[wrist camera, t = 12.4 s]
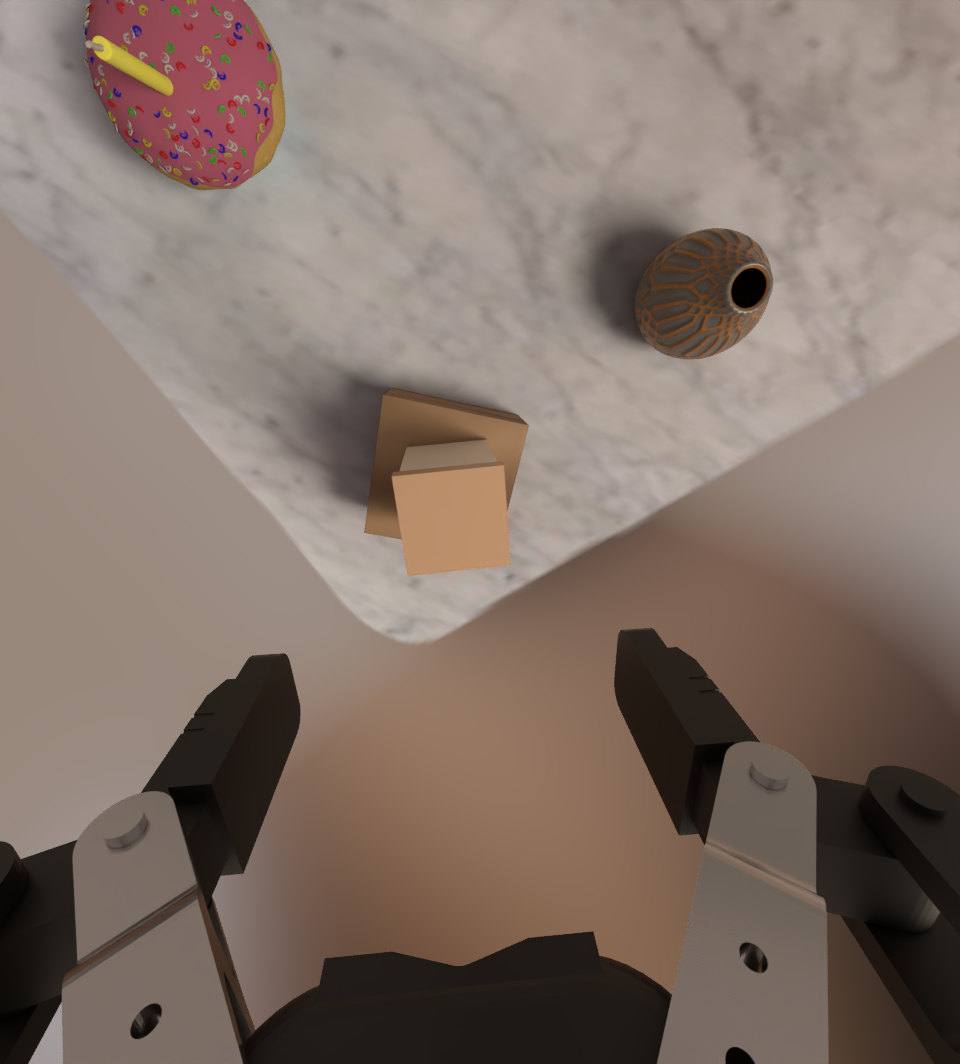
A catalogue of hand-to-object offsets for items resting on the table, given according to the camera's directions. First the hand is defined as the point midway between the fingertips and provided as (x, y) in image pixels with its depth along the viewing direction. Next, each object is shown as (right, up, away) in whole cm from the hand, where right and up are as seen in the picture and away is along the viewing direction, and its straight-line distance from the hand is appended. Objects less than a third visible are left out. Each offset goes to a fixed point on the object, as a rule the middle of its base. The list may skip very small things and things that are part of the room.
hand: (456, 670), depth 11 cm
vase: (+13, +19, +20) cm, 31 cm away
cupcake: (-14, +27, +15) cm, 33 cm away
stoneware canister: (-1, +7, +19) cm, 20 cm away
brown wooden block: (-2, +8, +23) cm, 25 cm away
